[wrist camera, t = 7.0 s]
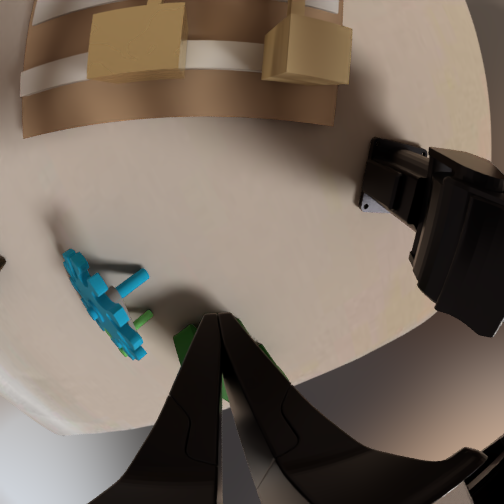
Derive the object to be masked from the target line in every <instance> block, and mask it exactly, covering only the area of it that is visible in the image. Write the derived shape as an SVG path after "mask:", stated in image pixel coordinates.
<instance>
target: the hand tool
mask: <svg viewBox="0 0 504 504" xmlns="http://www.w3.org/2000/svg"><path fill="white" fill-rule="evenodd" d="M5 263H6V261H5V260H4V259H0V270H1V269H2V268H3V266H4V265H5Z"/></svg>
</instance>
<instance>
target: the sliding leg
mask: <svg viewBox="0 0 504 504" xmlns="http://www.w3.org/2000/svg"><path fill="white" fill-rule="evenodd" d="M188 31H189V29H188V21H187V13H186V5H185V2H179V3H164V0H148V1H147V5H143V6H135V7H128V8H122V9H116V10H111V11H106V12H101V13H97V14H93V19H92V25H91V33H90V41H89V50H88V62H87V79H89V80H96V81H103V82H109V83H115V84H121V83H129V82H139V81H149V80H164V79H185V65H186V52H187V41H188Z"/></svg>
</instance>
